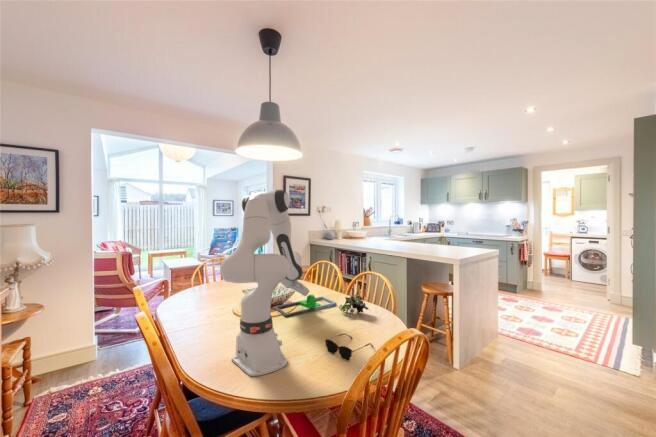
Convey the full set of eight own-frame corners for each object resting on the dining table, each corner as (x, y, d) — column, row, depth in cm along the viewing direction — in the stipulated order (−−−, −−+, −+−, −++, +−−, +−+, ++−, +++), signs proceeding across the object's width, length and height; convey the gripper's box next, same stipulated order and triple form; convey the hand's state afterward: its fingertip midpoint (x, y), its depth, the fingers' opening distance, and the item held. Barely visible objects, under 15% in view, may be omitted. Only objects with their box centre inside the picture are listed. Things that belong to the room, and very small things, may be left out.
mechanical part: (320, 307, 160) (320, 294, 160) (312, 310, 156) (312, 296, 156) (307, 302, 168) (307, 289, 168) (299, 305, 164) (299, 291, 164)
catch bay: (336, 305, 163) (336, 302, 163) (314, 310, 155) (314, 307, 155) (322, 298, 176) (322, 296, 176) (301, 303, 168) (301, 300, 168)
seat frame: (314, 310, 155) (314, 308, 155) (285, 317, 145) (285, 315, 145) (301, 302, 168) (301, 300, 168) (273, 308, 158) (273, 306, 158)
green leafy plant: (358, 323, 151) (373, 305, 149) (348, 327, 141) (364, 307, 138) (342, 306, 158) (356, 289, 155) (332, 309, 147) (347, 290, 145)
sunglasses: (324, 351, 110) (324, 338, 110) (349, 339, 122) (349, 328, 122) (351, 364, 101) (352, 350, 101) (375, 350, 112) (376, 338, 112)
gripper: (301, 278, 147) (317, 294, 152) (285, 272, 164) (300, 286, 169) (294, 288, 144) (310, 303, 149) (278, 281, 161) (293, 295, 167)
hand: (305, 294), depth 159 cm, fingers closed
